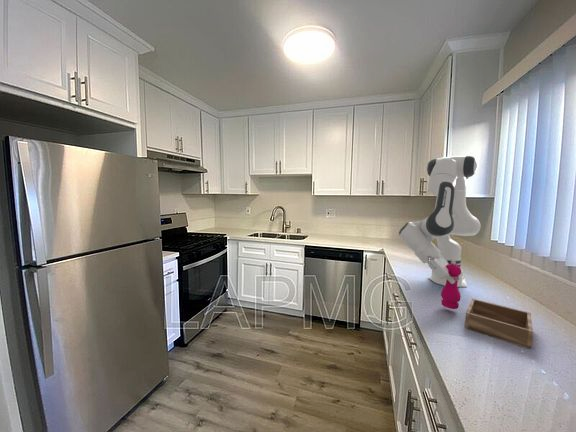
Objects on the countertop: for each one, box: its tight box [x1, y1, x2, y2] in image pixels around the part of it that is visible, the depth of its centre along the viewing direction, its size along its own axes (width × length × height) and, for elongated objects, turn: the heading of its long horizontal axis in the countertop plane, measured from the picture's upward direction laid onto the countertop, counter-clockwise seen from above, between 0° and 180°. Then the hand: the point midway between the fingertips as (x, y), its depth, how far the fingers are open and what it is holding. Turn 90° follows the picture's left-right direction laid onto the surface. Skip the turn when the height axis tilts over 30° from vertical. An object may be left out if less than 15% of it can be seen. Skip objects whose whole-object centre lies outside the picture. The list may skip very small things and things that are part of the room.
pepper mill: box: [440, 261, 462, 310], centre depth 106 cm, size 7×7×20 cm
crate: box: [464, 298, 534, 350], centre depth 94 cm, size 18×18×6 cm
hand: (453, 280), depth 105 cm, fingers closed on pepper mill, 5 cm apart
